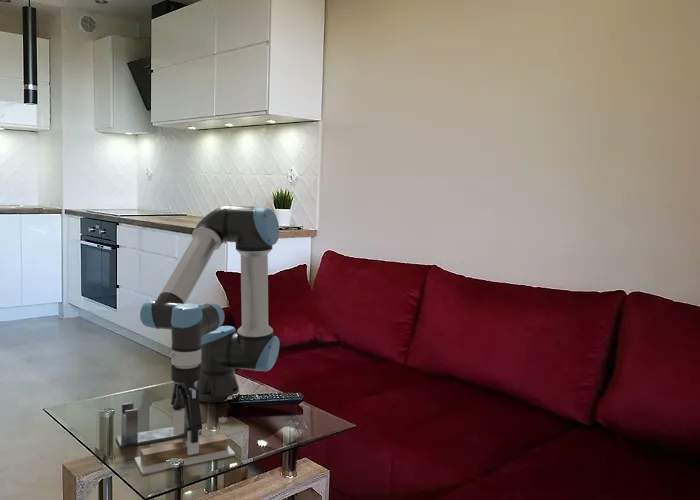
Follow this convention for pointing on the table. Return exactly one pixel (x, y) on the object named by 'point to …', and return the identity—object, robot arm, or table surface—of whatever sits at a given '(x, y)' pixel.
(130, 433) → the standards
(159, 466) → the mat
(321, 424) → the table surface
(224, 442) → the rail
